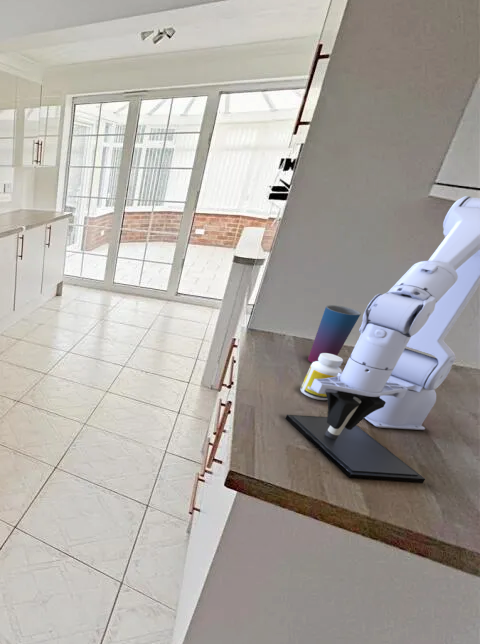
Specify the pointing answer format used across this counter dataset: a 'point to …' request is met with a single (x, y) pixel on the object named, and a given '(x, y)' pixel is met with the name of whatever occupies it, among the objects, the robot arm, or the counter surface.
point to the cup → (333, 330)
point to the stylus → (335, 432)
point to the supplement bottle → (321, 373)
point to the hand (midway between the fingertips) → (338, 425)
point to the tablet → (355, 452)
